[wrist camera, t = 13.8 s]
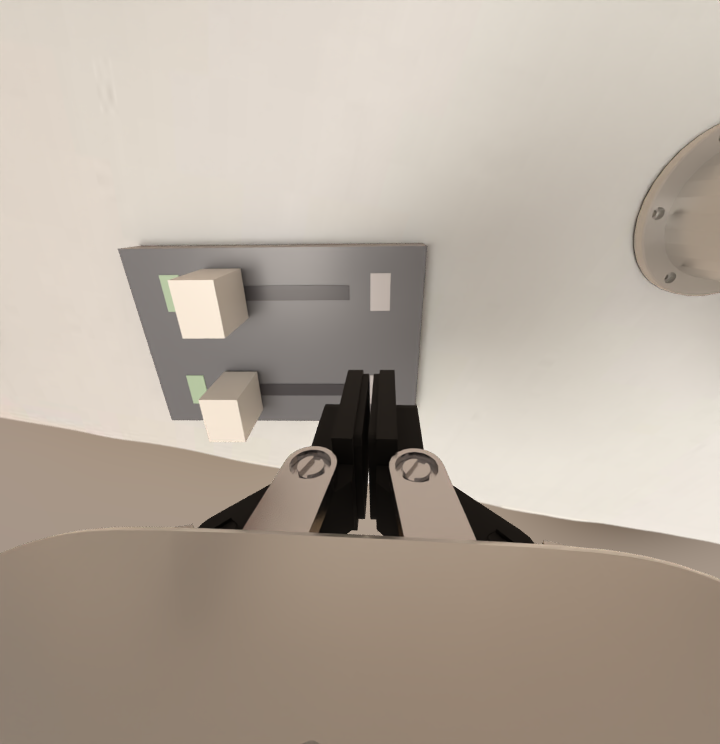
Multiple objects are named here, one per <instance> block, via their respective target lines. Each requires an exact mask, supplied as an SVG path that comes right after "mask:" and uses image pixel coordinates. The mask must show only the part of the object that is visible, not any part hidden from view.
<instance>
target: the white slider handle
mask: <svg viewBox="0 0 720 744" xmlns="http://www.w3.org/2000/svg"><path fill="white" fill-rule="evenodd" d="M198 401H199V404H200V408H201V412H202V416H203V420H204V423H205V427H206V431H207V435H208V438H209V442H246V440H247V438H248V436H249V435H250V433H251V431H252V429H253V427H254V425H255V424H256V422H257V420H258V418H259V416H260V414H261V412H262V411H263V405H262V399H261V393H260V387H259V381H258V375H257V372H223V374H222V375H221V376H220V377H219V378H218V379H217V380H216V381H215V382H214V383H213V384H212V386H211V387H210V388H209V389H208V390H207V391H206V392H205V393H204V394H203V395H202V396H201V398H200V399H199V400H198Z"/></svg>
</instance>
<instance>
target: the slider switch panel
mask: <svg viewBox="0 0 720 744" xmlns="http://www.w3.org/2000/svg"><path fill="white" fill-rule="evenodd" d="M118 251H119V254H120V257H121V260H122V263H123V266H124V270H125V273H126V276H127V279H128V282H129V285H130V289H131V292H132V295H133V298H134V301H135V304H136V308H137V311H138V314H139V317H140V320H141V323H142V327H143V330H144V333H145V336H146V339H147V342H148V346H149V349H150V352H151V355H152V358H153V361H154V365H155V368H156V371H157V374H158V377H159V380H160V384H161V387H162V390H163V393H164V396H165V399H166V403H167V406H168V409H169V412H170V415H171V418H172V420H203V416H202V412H201V408H200V404H199V401H198V400H199V399H200V398H201V396H202V395H203V394H204V393H205V392H206V391H207V390H208V389H209V388H210V387H211V386H212V384H213V383H214V382H215V381H216V380H217V379H218V378H219V377H220V376H221V375H222V374H223V372H257V375H258V381H259V387H260V393H261V399H262V405H263V411H262V412H261V414H260V416H259V418H258V420H278V421H320V418H321V415H322V412H323V409H324V406H325V404H340V401H341V397H342V393H343V389H344V385H345V381H346V377H347V373H348V370H363V371H364V374H369V382H370V411H371V400H372V388H373V376H374V374H379V373H380V370H395V390H396V405H415V402H416V389H417V375H418V361H419V348H420V334H421V321H422V307H423V293H424V280H425V266H426V252H427V245H425V244H423V243H388V244H292V245H196V246H135V247H128V248H121V249H118ZM230 268H240V269H241V275H242V281H243V287H244V293H245V299H246V305H247V311H248V317H249V318H248V319H247V320H246V321H245V322H243V323H242V324H241V325H240V326H239V327H238V328H236V329H235V330H234V331H233V332H232V333H231V334H230V335H228V336H227V337H226V338H204V339H183V338H182V334H181V330H180V326H179V322H178V319H177V315H176V311H175V307H174V304H173V300H172V296H171V292H170V288H169V285H168V281H167V280H170V279H173V278H176V277H179V276H182V275H185V274H188V273H191V272H194V271H197V270H200V269H230Z"/></svg>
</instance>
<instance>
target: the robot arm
mask: <svg viewBox="0 0 720 744" xmlns="http://www.w3.org/2000/svg"><path fill="white" fill-rule="evenodd" d="M634 250H635V255H636V259H637V263H638V265H639V267H640V269H641V271H642V273H643V274H644V275H645V277H646V278H647V279H648V280H649V281H650V282H651V283H652V284H654V285H656V286H657V287H659V288H660V289H663V290H666V291H669V292H672V293H676V294H681V295H686V296H705V295H710V294H716V293H720V124H718V125H716V126H714V127H713V128H711V129H709V130H708V131H706V132H705V133H703V134H701V135H700V136H698V137H697V138H696V139H694V140H693V141H692V142H691V143H689V144H688V145H687V146H686V147H685V148H683V149H682V150H681V151H680V152H679V153H678V154H677V155H676V156H675V157H674V158H673V159H672V160H671V161H670V163H669V164H668V165H667V166H666V167H665V168H664V170H663V171H662V172H661V174H660V175H659V176H658V178H657V179H656V181H655V182H654V183H653V185H652V187H651V189H650V191H649V192H648V194H647V196H646V198H645V200H644V202H643V205H642V207H641V210H640V213H639V215H638V218H637V223H636V229H635V234H634ZM368 472H369V489H370V518H371V519H376V522H377V530H378V531H379V532H380V533H381V534H382V535H383V536H375V535H354V534H353V535H352V534H347V533H349V532H350V531H351V530H357V529H358V519H365V512H366V498H367V486H368ZM0 744H720V579H719V578H716V577H714V576H711V575H708V574H705V573H702V572H700V571H696V570H693V569H691V568H688V567H685V566H681V565H679V564H676V563H672V562H668V561H663V560H659V559H655V558H651V557H647V556H642V555H637V554H631V553H625V552H619V551H612V550H605V549H593V548H582V547H571V546H567V545H563V544H559V543H555V542H550V541H546V540H543V543H542V544H537V543H534V542H533V541H532V540H531V538H530V537H528V536H527V535H526V534H525V533H523V532H522V531H521V530H520V529H518V528H516V527H515V526H513V525H512V524H510V523H509V522H507V521H506V520H504V519H503V518H501V517H500V516H498V515H497V514H495V513H494V512H492V511H491V510H489V509H487V508H486V507H485V506H483V505H482V504H480V503H479V502H477V501H476V500H474V499H473V498H471V497H469V496H468V495H466V494H465V493H463V492H462V491H460V490H459V489H457V488H456V487H454V486H453V485H452V483H451V480H450V478H449V476H448V474H447V471H446V469H445V467H444V464H443V463H442V461H441V460H440V458H438V457H437V456H436V455H435V454H433V453H431V452H429V451H427V450H424V449H423V442H422V436H421V429H420V422H419V415H418V409H417V405H396V390H395V370H380V373H379V374H374V376H373V388H372V400H371V411H370V382H369V374H364V371H363V370H348V373H347V377H346V381H345V385H344V389H343V393H342V397H341V401H340V404H325V406H324V409H323V412H322V415H321V418H320V421H319V424H318V427H317V431H316V434H315V437H314V440H313V443H312V446H310V447H305V448H302V449H299V450H297V451H295V452H294V453H292V454H291V455H290V456H289V457H288V458H287V459H286V460H285V462H284V464H283V465H282V467H281V468H280V470H279V472H278V473H277V475H276V476H275V478H274V480H273V481H272V483H271V484H270V485H268V486H266V487H265V488H263V489H261V490H259V491H258V492H256V493H254V494H252V495H250V496H248V497H247V498H245V499H243V500H241V501H239V502H238V503H236V504H234V505H233V506H230V507H229V508H227V509H225V510H223V511H222V512H220V513H218V514H216V515H214V516H213V517H211V518H209V519H208V520H207V521H205V522H204V523H202V524H201V525H200V527H198V528H194V526H193V525H192V524H191V525H184V526H178V527H108V528H95V529H85V530H79V531H73V532H67V533H62V534H58V535H54V536H50V537H46V538H43V539H39V540H35V541H31V542H28V543H26V544H23V545H20V546H17V547H14V548H12V549H9V550H7V551H4V552H2V553H0Z"/></svg>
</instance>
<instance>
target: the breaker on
mask: <svg viewBox="0 0 720 744" xmlns="http://www.w3.org/2000/svg"><path fill="white" fill-rule="evenodd" d="M167 281H168V285H169V288H170V292H171V296H172V300H173V304H174V307H175V311H176V315H177V319H178V322H179V326H180V330H181V334H182V338H183V339H204V338H226V337H227V336H228V335H230V334H231V333H232V332H233V331H234V330H235V329H236V328H238V327H239V326H240V325H241V324H242V323H243V322H245V321H246V320H247V319H248V318H249V317H248V311H247V305H246V299H245V293H244V287H243V281H242V275H241V269H240V268H230V269H200V270H197V271H194V272H191V273H188V274H185V275H182V276H179V277H176V278H173V279H170V280H167Z"/></svg>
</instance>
